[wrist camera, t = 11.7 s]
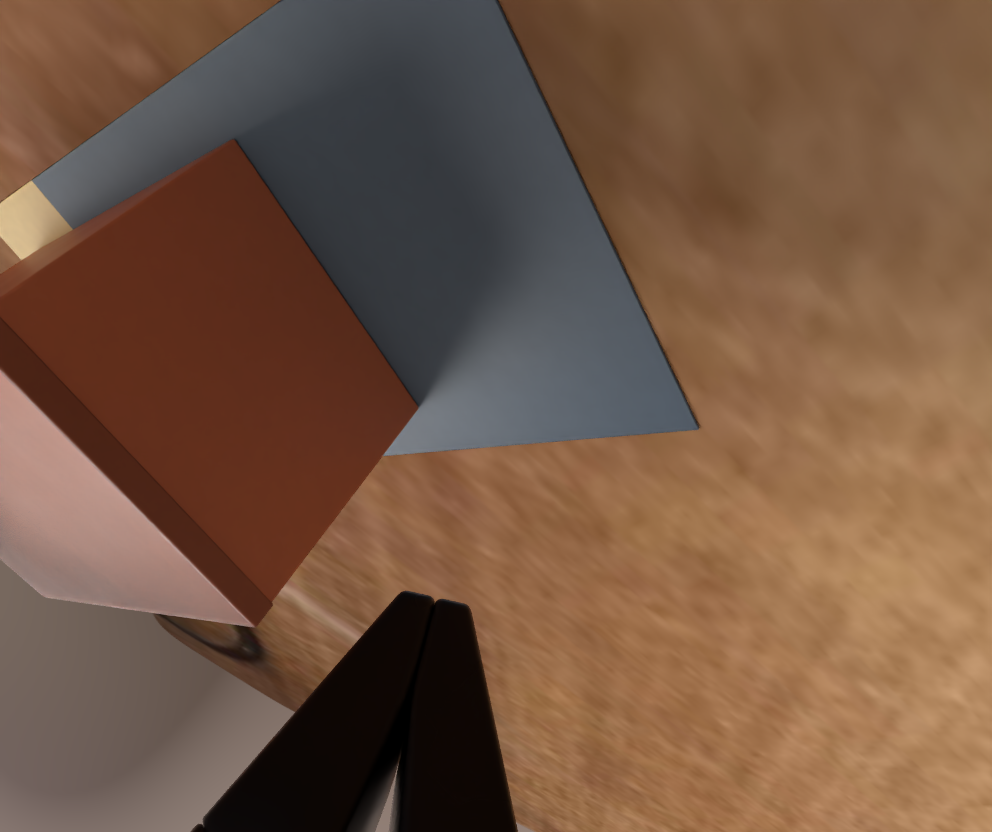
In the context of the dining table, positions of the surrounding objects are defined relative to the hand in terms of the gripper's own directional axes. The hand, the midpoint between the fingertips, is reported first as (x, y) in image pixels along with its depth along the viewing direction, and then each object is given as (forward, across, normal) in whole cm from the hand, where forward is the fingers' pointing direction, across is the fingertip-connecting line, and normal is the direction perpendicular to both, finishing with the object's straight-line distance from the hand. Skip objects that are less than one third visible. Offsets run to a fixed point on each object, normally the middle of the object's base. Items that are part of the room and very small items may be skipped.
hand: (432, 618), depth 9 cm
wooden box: (+17, +11, +8) cm, 22 cm away
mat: (+16, +8, +6) cm, 19 cm away
